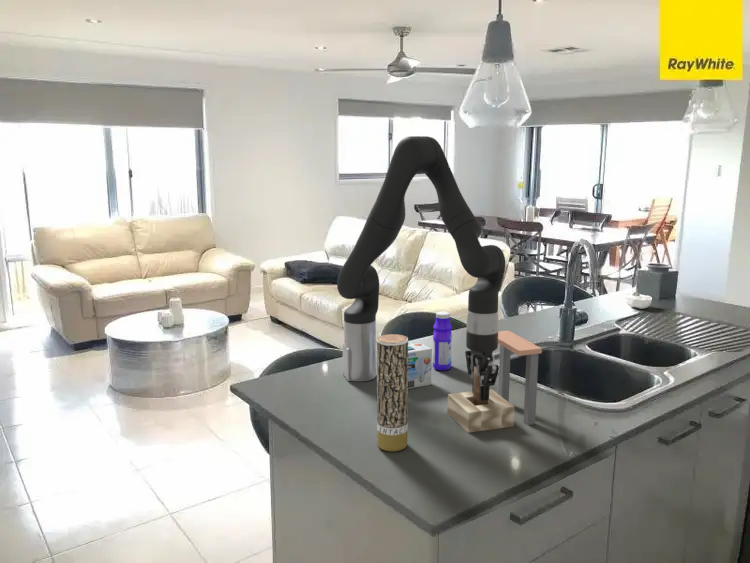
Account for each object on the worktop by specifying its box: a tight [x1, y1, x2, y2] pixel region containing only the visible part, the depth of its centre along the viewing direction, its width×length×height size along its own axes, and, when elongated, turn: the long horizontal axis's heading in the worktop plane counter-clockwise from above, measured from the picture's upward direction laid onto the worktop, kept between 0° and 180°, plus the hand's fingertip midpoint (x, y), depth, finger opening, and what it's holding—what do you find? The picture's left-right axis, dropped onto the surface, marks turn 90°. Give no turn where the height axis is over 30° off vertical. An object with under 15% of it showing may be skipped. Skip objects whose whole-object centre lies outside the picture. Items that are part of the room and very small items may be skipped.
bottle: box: [432, 310, 453, 371], centre depth 187 cm, size 7×6×17 cm
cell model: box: [624, 291, 653, 310], centre depth 261 cm, size 10×12×7 cm
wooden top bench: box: [497, 330, 543, 426], centre depth 153 cm, size 6×16×19 cm, turn 17°
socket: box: [447, 388, 515, 433], centre depth 151 cm, size 12×12×5 cm
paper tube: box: [376, 333, 409, 453], centre depth 135 cm, size 7×7×25 cm
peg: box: [473, 365, 488, 406], centre depth 150 cm, size 4×4×12 cm
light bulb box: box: [408, 342, 433, 390], centre depth 174 cm, size 11×7×11 cm, turn 117°
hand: (480, 396), depth 150 cm, fingers closed on peg, 3 cm apart
